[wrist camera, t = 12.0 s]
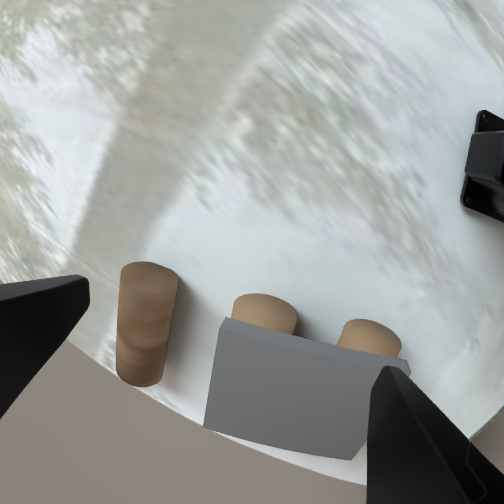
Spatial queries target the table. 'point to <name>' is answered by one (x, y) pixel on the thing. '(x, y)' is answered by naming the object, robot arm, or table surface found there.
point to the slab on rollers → (295, 380)
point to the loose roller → (144, 321)
